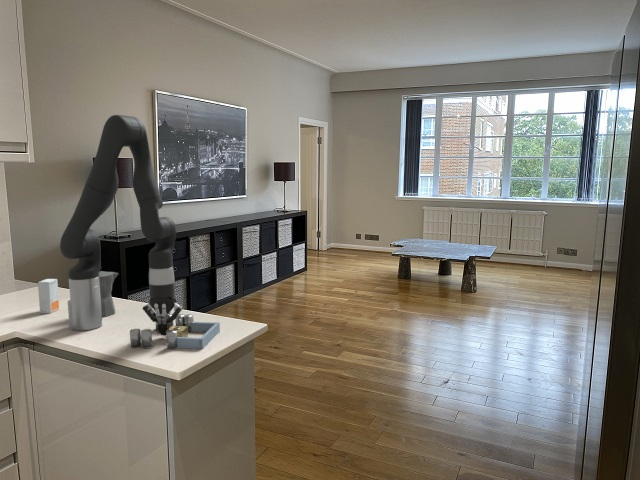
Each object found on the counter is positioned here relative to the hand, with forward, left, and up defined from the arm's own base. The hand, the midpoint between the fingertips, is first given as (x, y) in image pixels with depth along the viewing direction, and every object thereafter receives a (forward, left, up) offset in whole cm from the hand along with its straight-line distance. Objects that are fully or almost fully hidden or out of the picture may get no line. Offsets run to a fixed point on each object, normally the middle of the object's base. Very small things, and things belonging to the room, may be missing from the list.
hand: (164, 334), depth 152 cm
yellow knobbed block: (+4, 0, -1) cm, 5 cm away
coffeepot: (-35, +22, -1) cm, 41 cm away
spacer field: (0, 0, -1) cm, 1 cm away
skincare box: (-56, +24, -1) cm, 61 cm away
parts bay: (+11, 0, -1) cm, 11 cm away
